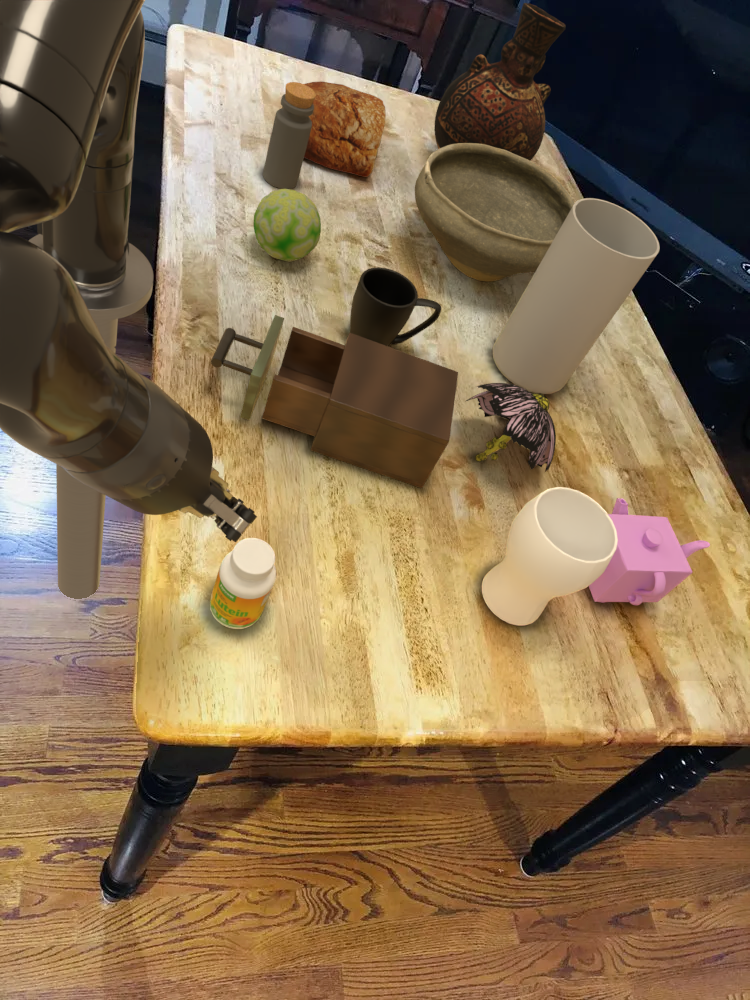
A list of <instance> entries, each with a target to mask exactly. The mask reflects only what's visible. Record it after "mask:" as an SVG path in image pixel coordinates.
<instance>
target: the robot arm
mask: <svg viewBox="0 0 750 1000" xmlns="http://www.w3.org/2000/svg"><path fill="white" fill-rule="evenodd" d="M145 1H146V0H0V430H1V431H2V432H3V433H4V434H5V435H7V436H8V437H10V439H12V440H13V441H14V442H15V443H17V444H19V445H20V446H21V447H23V448H25V449H27V450H29V451H30V452H32V453H34V454H36V455H39V456H41V457H43V458H44V459H45V460H48V461H49V462H51V463H53V464H55V465H56V464H57V465H59V466H61V467H62V468H63V469H65V470H66V471H67V472H68V473H69V474H70V475H72V476H73V477H74V478H75V479H77V480H78V481H80V482H82V483H83V484H85V485H87V486H89V487H91V488H93V489H94V490H96V491H98V492H100V493H102V494H104V495H106V497H108V498H110V499H111V500H114V501H115V502H118V503H119V504H121V505H123V506H125V507H127V508H129V509H131V510H132V511H134V512H137V513H139V514H144V515H150V516H161V515H162V516H163V515H166V514H167V515H168V514H171V513H174V512H176V511H179V512H181V513H183V514H187V513H190V514H191V515H193V516H195V517H196V518H199V519H202V518H203V517H207V518H211V519H212V520H213V519H214V520H213V522H214V523H215V524H216V527H217V529H219V530H220V531H221V532H222V533H223V534H224V535H225V538H226V539H227V540H228V541H230V542H231V541H232V542H234V543H238V542H239V541H238V540H239V539H240V538H241V537H242V536H243V534H244V533H245V532H246V531H247V530H248V529H249V527H251V525H252V524H253V522H254V521H255V520H256V519H257V518H258V516H257V515H256V514H255V511H254V510H253V509H252V508H251V507H248V506H246V505H245V504H244V503H245V501H243V500H242V499H241V498H236V496H234V495H233V494H232V493H231V492H232V491H231V490H230V489H229V483H228V482H227V481H226V480H224V479H223V478H222V477H221V476H219V475H220V472H219V471H218V470H217V469H215V467H213V465H214V464H213V463H214V449H213V445H212V442H211V438H210V436H209V434H208V433H207V431H206V429H205V428H204V427H203V425H202V424H201V423H200V422H199V421H198V420H196V419H195V417H193V416H192V415H191V414H190V413H189V412H188V411H187V410H185V408H184V407H182V406H181V405H180V404H179V403H178V402H177V401H176V400H174V399H173V397H171V396H170V395H169V394H168V393H167V392H165V390H163V389H162V388H161V386H159V384H158V385H157V384H156V383H155V382H154V381H153V380H151V379H150V378H148V377H147V376H145V375H143V374H141V373H140V372H137V371H136V370H135V369H133V368H132V367H131V366H130V365H129V363H127V362H126V361H124V360H123V359H122V358H121V357H120V356H118V354H117V353H114V352H113V351H112V350H111V349H109V348H108V347H107V346H106V344H105V342H104V340H103V338H102V336H101V334H100V332H99V329H98V327H97V325H96V323H95V322H94V320H93V318H92V316H91V314H90V312H89V310H88V308H87V306H86V304H85V302H84V300H83V298H82V296H81V294H80V292H79V289H83V290H91V291H98V290H106V289H110V288H113V287H115V286H117V285H118V284H119V283H121V282H122V280H123V279H124V277H125V274H126V250H128V255H129V243H130V242H129V238H128V237H129V224H130V222H129V221H130V209H131V207H130V206H131V196H132V182H133V168H134V156H135V155H134V153H135V136H136V135H135V133H136V122H137V121H136V120H137V108H138V101H139V92H140V86H141V85H140V84H141V78H142V77H141V76H142V71H143V65H144V55H145V44H146V43H145V39H146V38H145V32H146V31H145V30H146V29H145V20H144V16H143V13H142V10H141V9H142V7H143V6H144V3H145ZM35 225H36V228H37V235H38V234H41V235H43V249H41V248H40V247H38V246H37V245H35V244H33V243H31V242H30V241H29V240H27V239H25V238H23V237H21V236H19V235H15V234H12V232H14V231H17V230H20V229H23V228H28V227H31V226H35ZM128 242H129V243H128ZM78 288H79V289H78Z"/></svg>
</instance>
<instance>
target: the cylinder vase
mask: <svg viewBox="0 0 750 1000" xmlns="http://www.w3.org/2000/svg"><path fill="white" fill-rule="evenodd" d="M659 253H660V242H659V240H658V237H657V236H656V234H655V233H654V231H653V230H652V229H651V228H650V227H649V226H648V225H647V223H645V222H644V221H643V220H642V219H641V218H640V217H638V216H636V215H635V214H634V213H632V212H631V211H629V210H627V209H626V208H624V207H622V206H619V205H618V204H615V203H612V202H610V201H608V200H605V199H600V198H594V197H585V198H581V199H578V200H576V201H574V205H573V207H572V209H571V210H570V212H569V214H568V216H567V217H566V219H565V221H564V223H563V224H562V226H561V228H560V230H559V231H558V233H557V235H556V237H555V238H554V240H553V242H552V244H551V245H550V247H549V249H548V251H547V252H546V254H545V256H544V258H543V259H542V261H541V263H540V265H539V266H538V268H537V270H536V272H533V275H532V277H531V279H530V281H529V282H528V284H527V285H526V287H525V289H524V291H523V293H522V294H521V296H520V298H519V299H518V301H517V303H516V305H515V306H514V308H513V310H512V311H511V314H510V315H509V317H508V319H507V321H506V322H505V324H504V325H503V327H502V329H501V331H500V333H499V334H498V337H497V338H496V340H495V342H494V343H493V346H492V358H493V362H494V363H495V366H496V367H497V369H498V371H499V372H500V373H501V374H502V375H503V377H504V378H506V379H507V381H509V382H511V384H513V385H516V386H519V387H522V388H524V389H526V390H528V391H529V392H530V393H532V394H533V393H541V394H544V395H550V394H554V393H555V394H556V393H557V392H559V391H561V390H562V389H563V388H564V387H565V386H566V385H567V383H568V381H570V379H571V377H572V376H573V375H574V373H575V372H576V370H577V369H578V367H579V366H580V365H581V364H582V362H583V360H585V358H586V356H587V355H588V353H589V352H590V351H591V349H592V347H593V346H594V345H595V343H596V342H597V340H598V339H599V338H600V336H602V334H603V332H604V331H605V329H606V328H607V327H608V325H609V324H610V322H611V320H612V319H613V318H614V316H615V315H616V313H617V312H618V311H619V309H620V308H621V307H622V305H623V304H624V302H625V301H626V299H627V298H628V297H629V295H630V294H631V292H632V291H633V289H634V288H635V286H636V285H637V284H638V283H639V281H640V280H641V278H642V277H643V275H644V274H645V272H646V271H647V270H648V268H649V267H650V266H651V264H652V262H653V261H654V260H655V258H656V257H657V255H658V254H659Z"/></svg>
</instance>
